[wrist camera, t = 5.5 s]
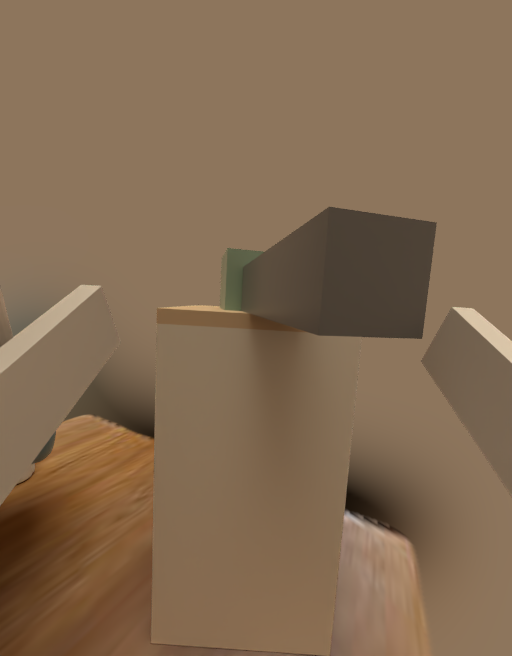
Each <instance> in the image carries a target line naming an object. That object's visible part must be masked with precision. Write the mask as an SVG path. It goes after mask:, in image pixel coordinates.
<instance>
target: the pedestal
mask: <svg viewBox="0 0 512 656" xmlns="http://www.w3.org/2000/svg"><path fill="white" fill-rule="evenodd" d="M361 340H362V337H350V336H318V335H315V334H312V333H309V332H306V331H303V330H299V329H296V328H293V327H290V326H287V325H284V324H281V323H277V322H274V321H271V320H268V319H265V318H262V317H259V316H255V315H252V314H249V313H246V312H243V311H231V310H223V309H221V308H220V306H201V305H196V306H182V307H168V308H167V307H166V308H157V337H156V390H155V393H156V394H155V445H154V500H153V556H152V611H151V643H153V644H167V645H181V646H195V647H209V648H223V649H237V650H251V651H265V652H279V653H293V654H307V655H321V656H330V648H331V638H332V629H333V619H334V609H335V599H336V589H337V579H338V569H339V559H340V549H341V539H342V529H343V519H344V509H345V499H346V488H347V480H348V470H349V469H348V468H349V460H350V450H351V440H352V429H353V420H354V410H355V400H356V389H357V380H358V370H359V360H360V350H361Z"/></svg>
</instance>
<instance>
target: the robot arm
mask: <svg viewBox="0 0 512 656" xmlns="http://www.w3.org/2000/svg"><path fill="white" fill-rule="evenodd" d="M120 343H121V341H120V338H119V336H118V333H117V330H116V327H115V324H114V321H113V318H112V315H111V312H110V309H109V306H108V304H107V301H106V298H105V295H104V292H103V289H102V286H93V285H81V286H79V287H78V288H77V289H75V290H74V291H73V292H71V293H70V294H69V295H68V296H66V297H65V298H64V299H62V300H61V301H60V302H59V303H57V304H56V305H55V306H53V307H52V308H51V309H49V310H48V311H47V312H46V313H44V314H43V315H42V316H40V317H39V318H38V319H37V320H35V321H34V322H33V323H31V324H30V325H29V326H27V327H26V328H25V329H24V330H22V331H21V332H20V333H18V334H17V335H16V336H14V337H13V335H12V331H11V327H10V323H9V319H8V315H7V311H6V307H5V303H4V299H3V295H2V291H1V287H0V506H1V504H2V503H3V502H4V500H5V499H6V497H7V496H8V495H9V493H10V492H11V491H12V489H13V488H14V487H15V485H16V484H17V483H18V481H19V480H20V478H21V477H22V476H23V474H24V473H25V472H26V470H27V469H28V468H29V466H30V465H31V464H34V463H37V462H40V461H42V460H43V459H45V458H46V457H47V456H48V455H49V454H50V453H51V451H52V449H53V446H54V441H55V435H56V430H57V428H58V427H59V426H60V424H61V423H62V422H63V420H64V419H65V417H66V416H67V415H68V413H69V412H70V411H71V409H72V408H73V407H74V405H75V404H76V403H77V401H78V400H79V398H80V397H81V396H82V394H83V393H84V392H85V390H86V389H87V388H88V386H89V385H90V384H91V382H92V381H93V379H94V378H95V377H96V375H97V374H98V373H99V371H100V370H101V368H102V367H103V366H104V365H105V363H106V362H107V361H108V359H109V358H110V356H111V355H112V354H113V352H114V351H115V350H116V348H117V347H118V346H119V344H120ZM421 362H422V364H423V365H424V367H425V368H426V370H427V371H428V373H429V374H430V376H431V377H432V378H433V380H434V382H435V383H436V385H437V386H438V388H439V389H440V391H441V392H442V394H443V395H444V397H445V398H446V400H447V401H448V403H449V404H450V406H451V407H452V408H453V410H454V412H455V413H456V415H457V416H458V418H459V419H460V421H461V422H462V424H463V425H464V426H465V428H466V430H467V431H468V433H469V434H470V435H471V437H472V438H473V440H474V441H475V443H476V444H477V446H478V447H479V449H480V450H481V452H482V453H483V455H484V456H485V458H486V459H487V461H488V462H489V464H490V465H491V467H492V468H493V470H494V471H495V473H496V474H497V476H498V477H499V479H500V480H501V482H502V483H503V485H504V486H505V488H506V489H507V491H508V492H509V494H510V495H511V497H512V341H511V340H510V339H508V338H507V337H506V336H505V335H504V334H503V333H501V332H500V331H499V330H498V329H497V328H495V327H494V326H493V325H492V324H491V323H490V322H488V321H487V320H486V319H485V318H484V317H482V316H481V315H480V314H479V313H478V312H476V311H475V310H474V309H473V308H460V307H452V308H451V309H450V311H449V313H448V315H447V316H446V318H445V320H444V322H443V323H442V325H441V327H440V329H439V330H438V332H437V334H436V336H435V337H434V339H433V341H432V343H431V344H430V346H429V348H428V350H427V352H426V353H425V355H424V357H423V358H422V360H421Z"/></svg>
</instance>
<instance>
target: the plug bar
mask: <svg viewBox="0 0 512 656" xmlns="http://www.w3.org/2000/svg"><path fill="white" fill-rule="evenodd" d="M435 231H436V223H435V222H429V221H422V220H415V219H408V218H401V217H395V216H388V215H381V214H375V213H368V212H361V211H354V210H347V209H340V208H334V207H328V208H327V209H325V210H324V211H323V212H321V213H320V214H318V215H317V216H315V217H314V218H313V219H311V220H310V221H308V222H307V223H305V224H304V225H303V226H301V227H300V228H298V229H297V230H295V231H294V232H292V233H291V234H290V235H288V236H287V237H285V238H284V239H283V240H281V241H280V242H278V243H277V244H275V245H274V246H272V247H271V248H270V249H268V250H267V251H265V252H261V251H251V250H241V249H231V248H227V250H226V252H225V254H224V255H223V258H222V267H221V268H222V269H221V290H220V308H221V309H223V310H231V311H243V312H246V313H249V314H252V315H255V316H259V317H262V318H265V319H268V320H271V321H274V322H277V323H281V324H284V325H287V326H290V327H293V328H296V329H299V330H303V331H306V332H309V333H312V334H315V335H318V336H350V337H385V338H417V339H422V335H423V327H424V319H425V311H426V303H427V295H428V287H429V279H430V271H431V263H432V255H433V246H434V238H435Z"/></svg>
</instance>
